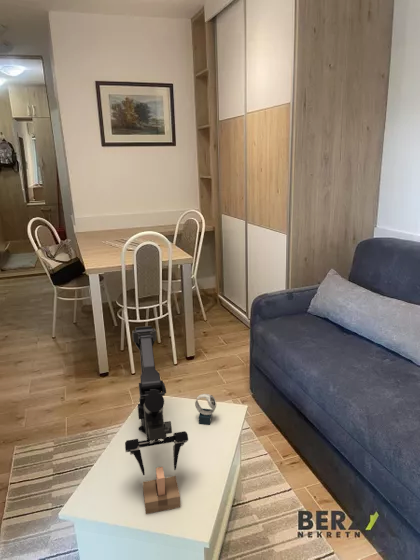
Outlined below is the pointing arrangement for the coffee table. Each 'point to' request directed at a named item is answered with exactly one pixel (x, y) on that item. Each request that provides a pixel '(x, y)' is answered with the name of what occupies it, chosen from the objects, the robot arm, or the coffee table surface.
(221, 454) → the coffee table surface
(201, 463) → the coffee table surface
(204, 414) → the watch
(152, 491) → the slot box
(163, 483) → the rectangular block
